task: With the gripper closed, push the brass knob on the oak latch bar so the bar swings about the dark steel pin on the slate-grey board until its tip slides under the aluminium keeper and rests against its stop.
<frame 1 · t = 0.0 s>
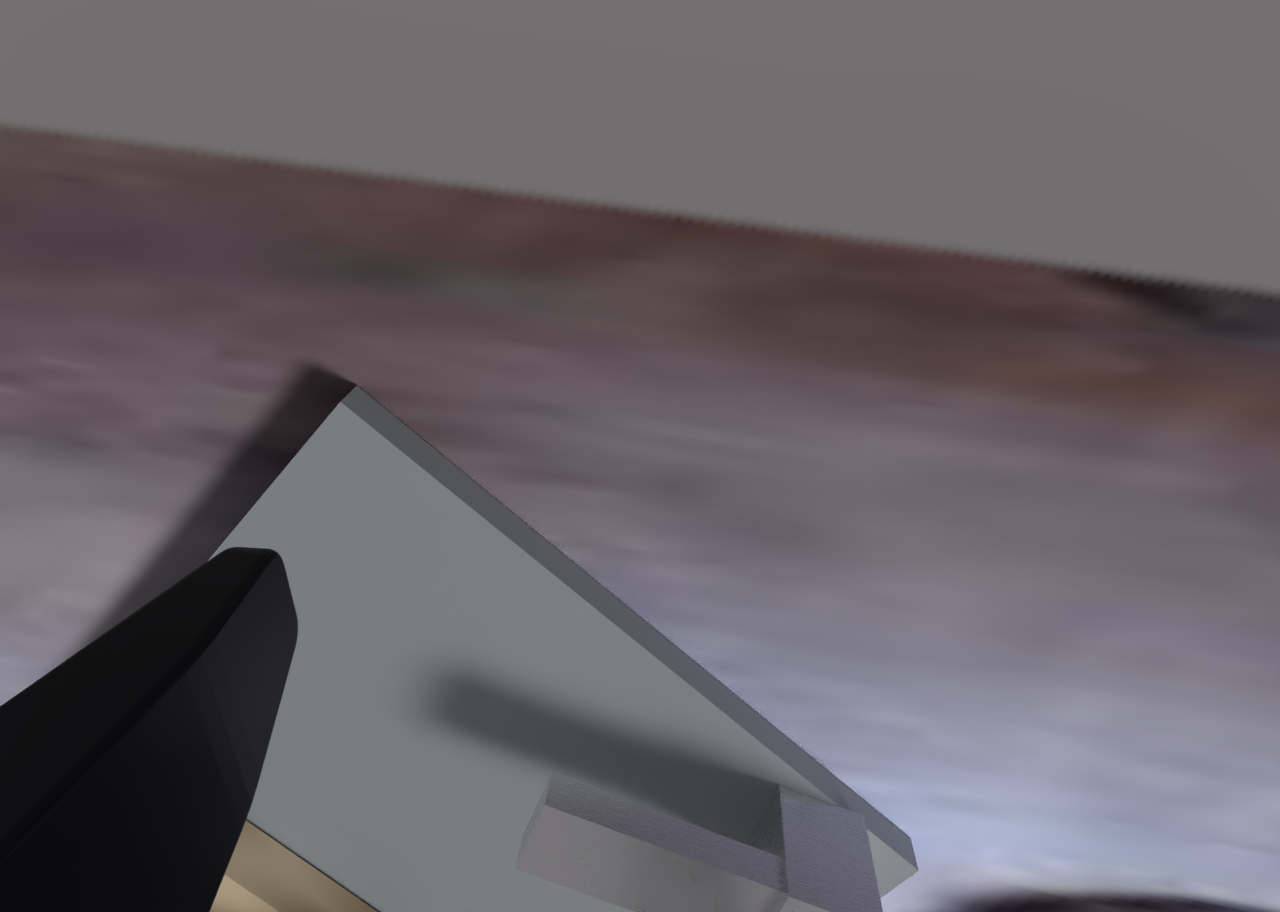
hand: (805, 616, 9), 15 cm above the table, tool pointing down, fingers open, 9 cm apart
board: (461, 806, 29), on the table
keeper: (798, 802, 29), resting on board
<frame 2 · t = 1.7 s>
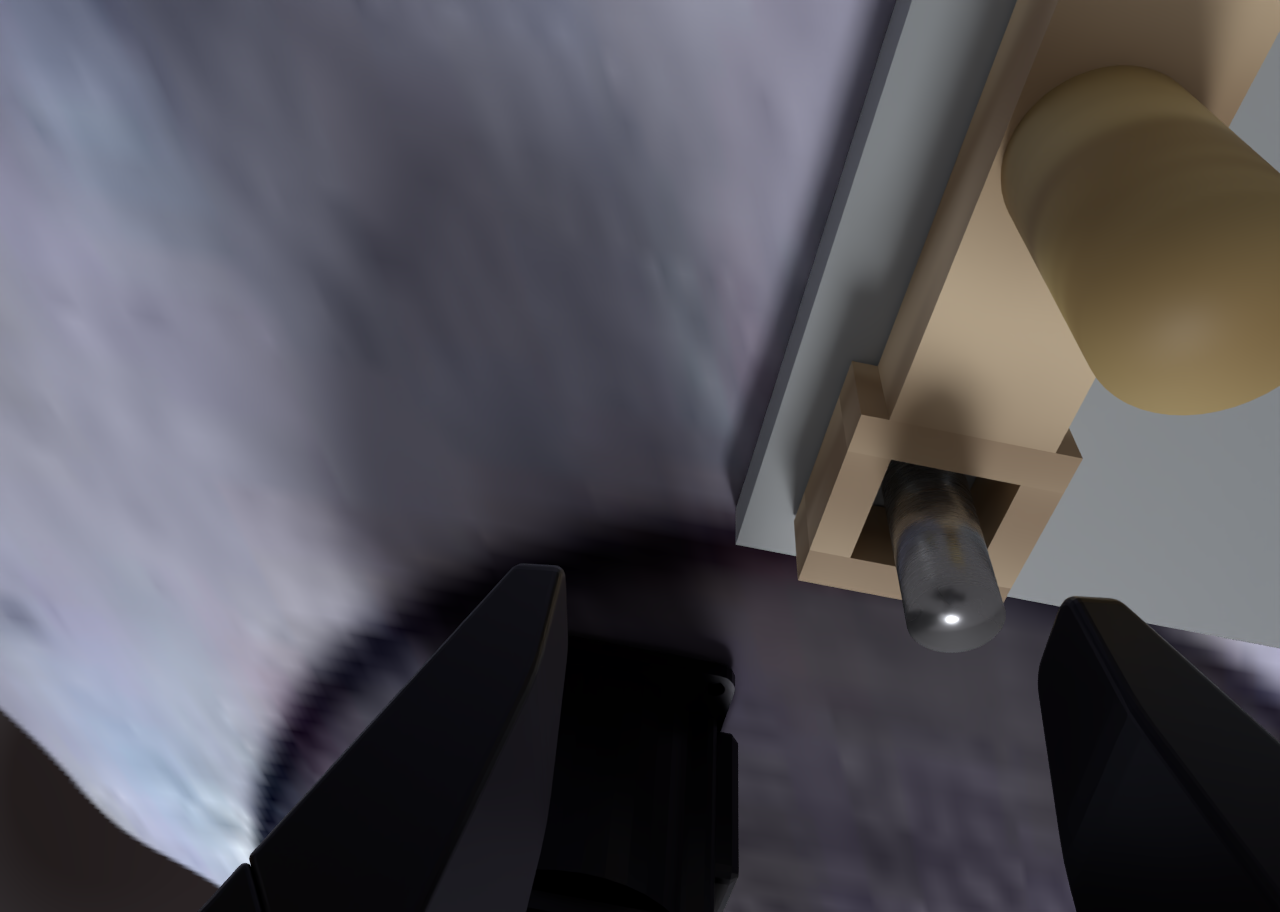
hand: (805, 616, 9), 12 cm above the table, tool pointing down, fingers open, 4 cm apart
latch bar: (1065, 326, 15), point 4 cm above the table, hinge at 70.0°
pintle: (909, 427, 22), resting on board
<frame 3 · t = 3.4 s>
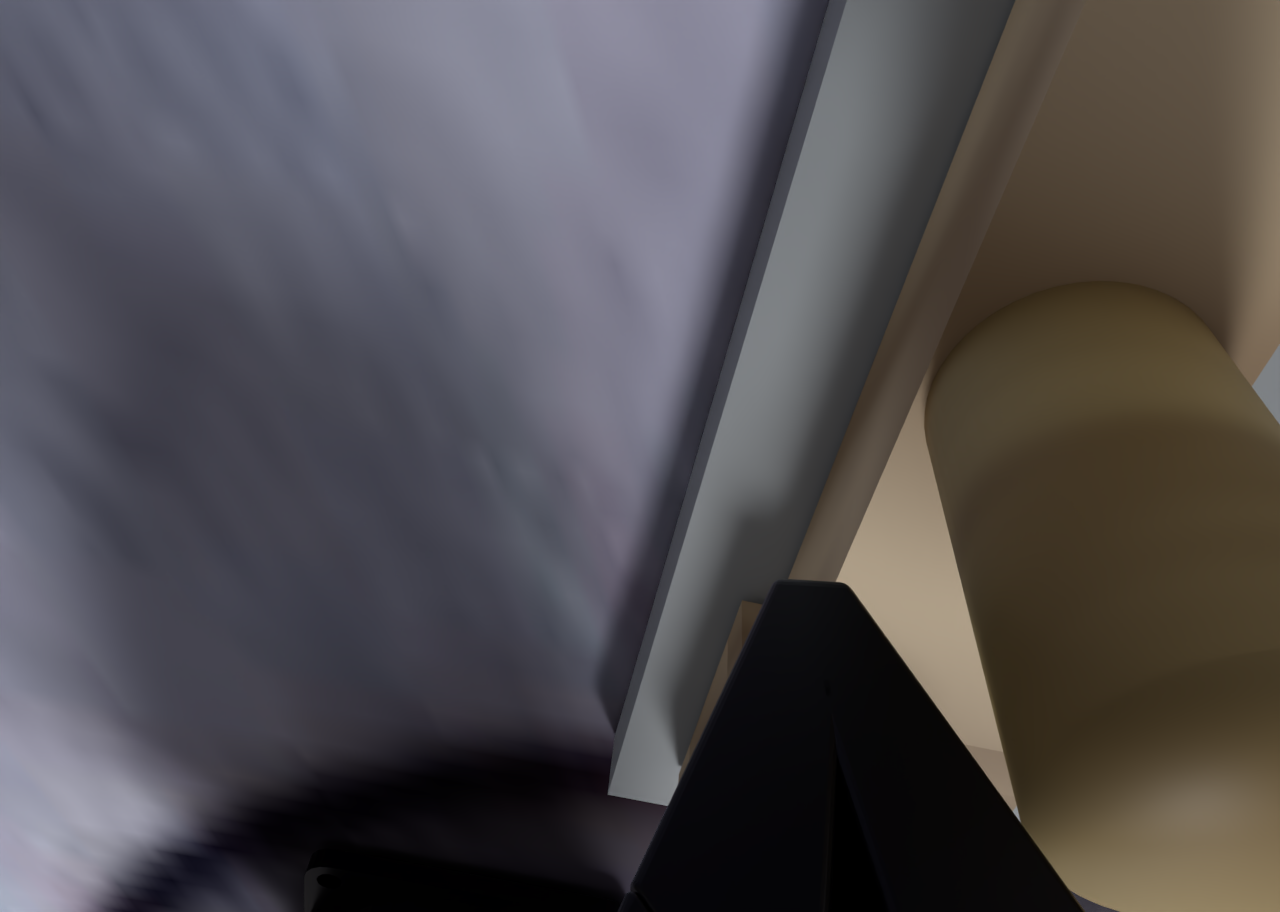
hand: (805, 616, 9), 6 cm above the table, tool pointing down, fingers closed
latch bar: (1016, 649, 10), point 4 cm above the table, hinge at 70.0°, touching gripper
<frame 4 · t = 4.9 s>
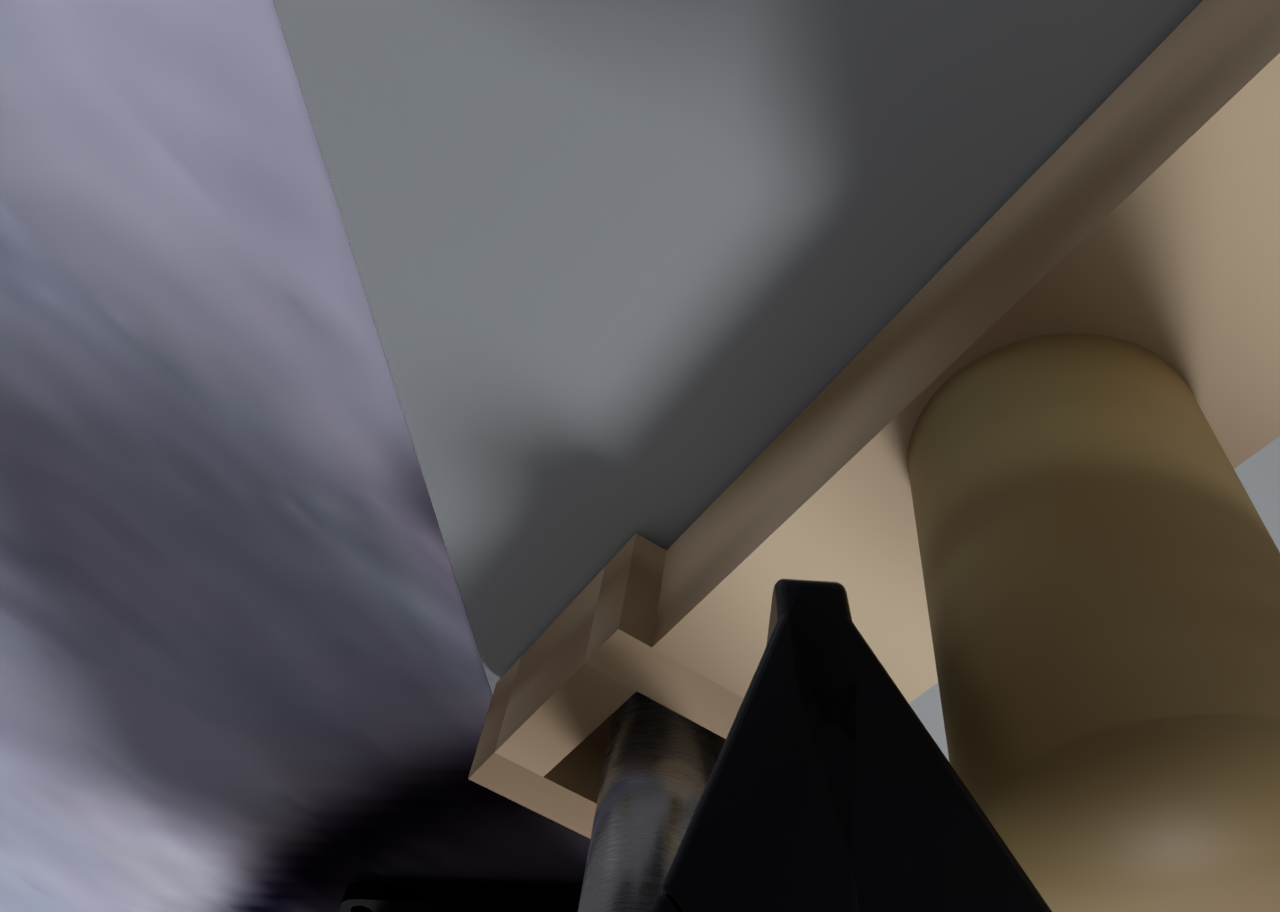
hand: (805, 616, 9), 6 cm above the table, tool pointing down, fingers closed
board: (1043, 211, 12), on the table
latch bar: (924, 657, 11), point 4 cm above the table, hinge at 28.7°, touching gripper
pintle: (680, 613, 17), resting on board
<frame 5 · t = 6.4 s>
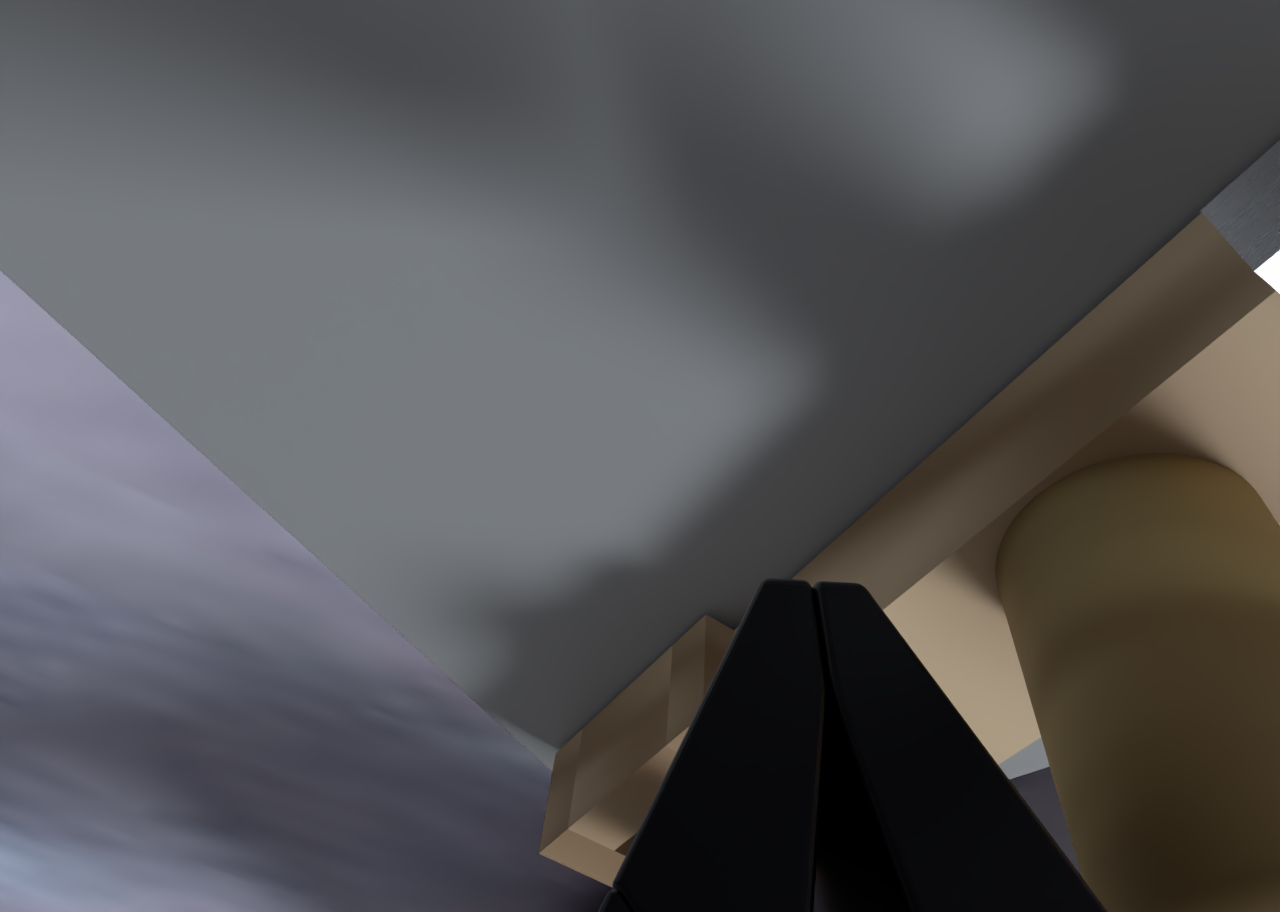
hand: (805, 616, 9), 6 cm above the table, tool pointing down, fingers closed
board: (799, 217, 13), on the table
latch bar: (1016, 750, 11), point 4 cm above the table, hinge at 0.2°
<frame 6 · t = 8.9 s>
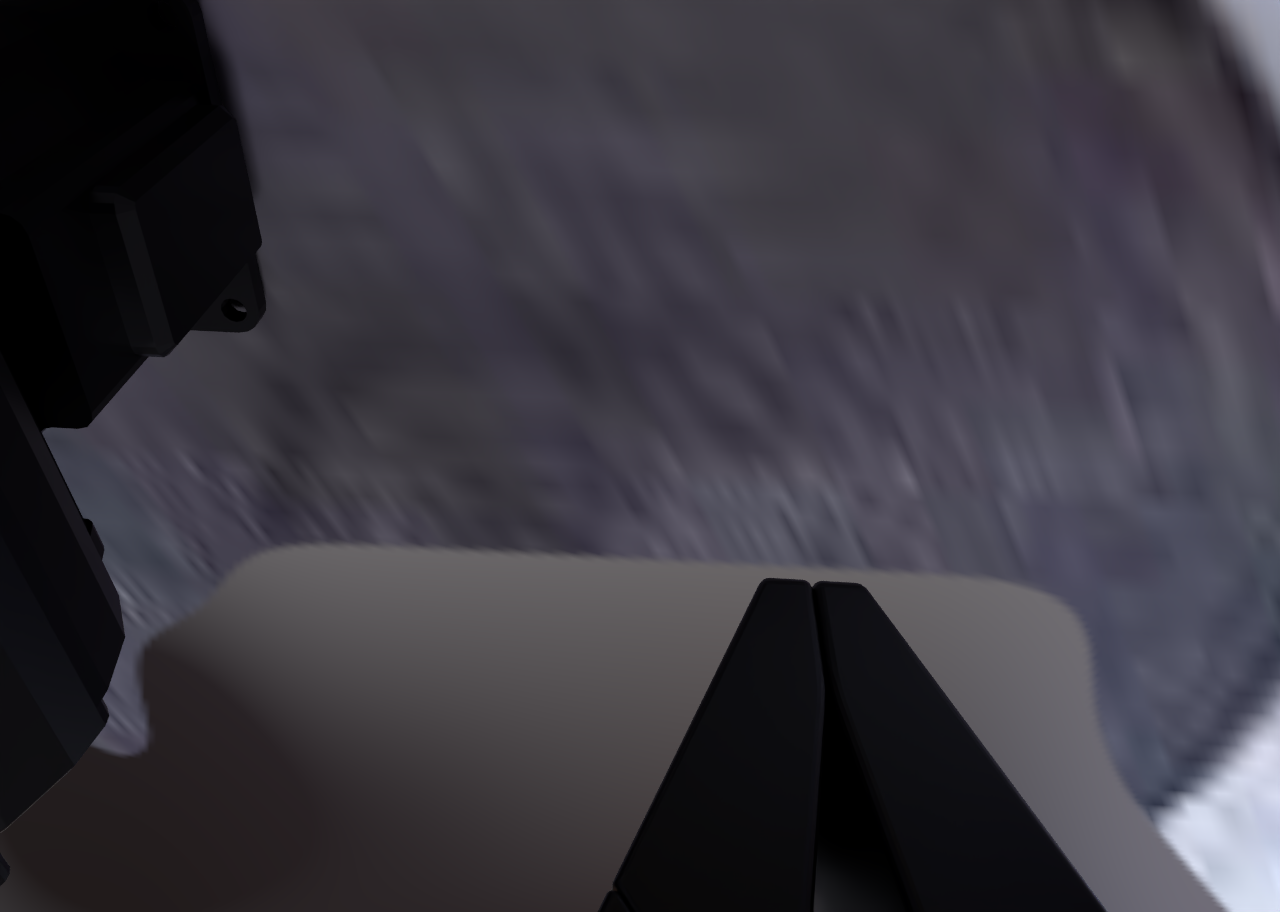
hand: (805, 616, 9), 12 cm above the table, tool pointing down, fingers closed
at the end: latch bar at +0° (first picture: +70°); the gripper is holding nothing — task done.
